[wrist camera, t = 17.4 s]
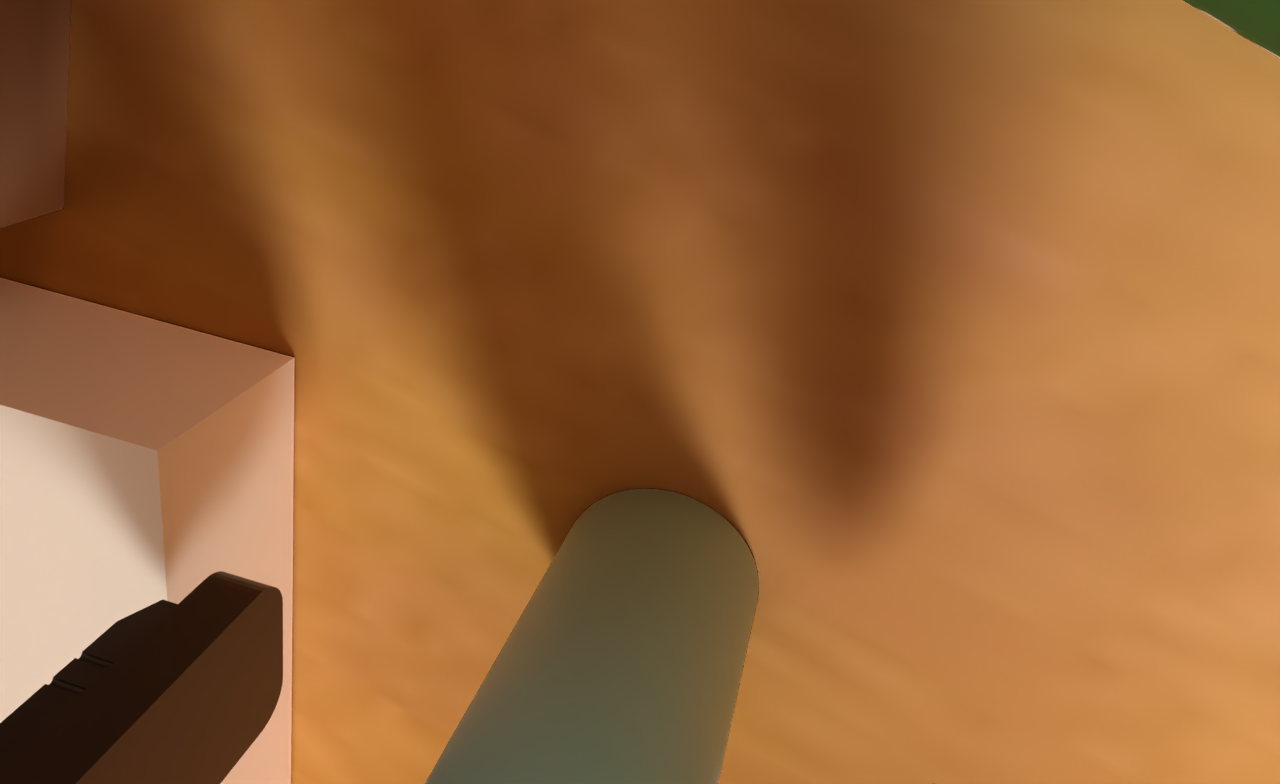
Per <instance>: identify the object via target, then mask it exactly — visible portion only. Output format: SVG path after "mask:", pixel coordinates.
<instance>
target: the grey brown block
mask: <svg viewBox="0 0 1280 784" xmlns="http://www.w3.org/2000/svg"><path fill="white" fill-rule="evenodd" d="M70 21H71V0H0V228H3V227H6V226H9V225H13V224H16V223H19V222H22V221H26V220H29V219H32V218H36V217H39V216H42V215H45V214H49V213H52V212H55V211H58V210H62V209H64V191H65V163H66V134H67V106H68V78H69V49H70Z"/></svg>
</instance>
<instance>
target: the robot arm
mask: <svg viewBox="0 0 1280 784" xmlns="http://www.w3.org/2000/svg"><path fill="white" fill-rule="evenodd" d="M282 683H283V598H282V594H281V592H280V590H279V589H278V588H276V587H273V586H269V585H266V584H263V583H260V582H256V581H253V580H250V579H246V578H243V577H240V576H236V575H233V574H230V573H226V572H223V571H218V572H215V573H213V574H211V575H210V576H208V577H207V578H206V579H205V580H204V581H203V582H202V583H200V584H199V585H198V586H197V587H196V588H195V589H194V590H193V591H192V592H191V593H190V594H189V595H187V596H186V597H185V598H184V599H183V600H182V601H181V602H180V603H179V604H176V603H172V602H169V601H166V600H160V601H158V602H156V603H154V604H152V605H150V606H148V607H146V608H144V609H142V610H140V611H137V612H135V613H133V614H131V615H129V616H127V617H125V618H123V619H121V620H119V621H117V622H116V623H114V624H113V625H112V626H111V627H110V628H109V629H108V630H106V631H105V632H104V633H103V634H102V635H101V636H100V637H98V638H97V639H96V640H95V641H94V642H93V643H92V644H90V645H89V646H88V647H87V648H86V649H85V650H84V651H82V655H81V657H80V658H79V659H76V658H74V659H73V660H72V661H71V662H70V663H69V664H67V665H66V666H65V667H64V668H63V669H62V670H61V671H59V672H58V673H57V674H56V675H55V676H54V677H53V680H52V682H51V683H50V684H49V685H47V684H45V685H43V686H42V687H41V688H40V689H39V690H38V691H37V692H35V693H34V694H33V695H32V696H31V697H30V698H29V699H27V700H26V701H25V702H24V703H23V704H22V705H20V706H19V707H18V708H17V709H16V710H15V711H14V712H12V713H11V714H10V715H9V716H8V717H7V718H6V719H4V720H3V721H2V722H1V723H0V784H221V782H222V781H223V780H224V779H225V777H226V776H227V775H228V774H229V772H230V771H231V770H232V769H233V767H234V766H235V765H236V764H237V762H238V761H239V760H240V758H241V757H242V756H243V755H244V753H245V752H246V751H247V750H248V748H249V747H250V746H251V745H252V743H253V742H254V741H255V740H256V738H257V737H258V736H259V735H260V733H261V732H262V731H263V729H264V728H265V726H266V725H267V723H268V722H269V720H270V718H271V716H272V714H273V712H274V710H275V708H276V705H277V702H278V700H279V696H280V693H281V689H282Z"/></svg>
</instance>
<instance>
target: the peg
mask: <svg viewBox="0 0 1280 784" xmlns="http://www.w3.org/2000/svg"><path fill="white" fill-rule="evenodd" d="M758 595H759V579H758V572H757V568H756V564H755V561H754V558H753V556H752V554H751V552H750V549H749V547H748V546H747V544H746V543H745V541H744V539H743V538H742V536H741V535H740V534H739V533H738V532H737V530H736V529H735V528H734V527H733V526H732V525H731V524H730V523H729V522H728V521H727V520H726V519H725V518H724V517H722V516H721V515H720V514H719V513H717V512H716V511H715V510H713V509H712V508H710V507H708V506H707V505H705V504H703V503H701V502H699V501H697V500H695V499H693V498H690V497H688V496H685V495H682V494H679V493H675V492H671V491H666V490H659V489H633V490H626V491H622V492H618V493H615V494H611V495H609V496H607V497H605V498H602V499H600V500H599V501H597V502H595V503H594V504H592V505H591V506H590V507H588V508H587V509H586V510H585V511H584V512H583V513H582V514H581V515H580V516H579V517H578V519H577V520H576V521H575V523H574V524H573V526H572V528H571V529H570V531H569V533H568V534H567V536H566V538H565V540H564V541H563V543H562V545H561V547H560V548H559V550H558V552H557V554H556V555H555V557H554V559H553V561H552V562H551V564H550V566H549V568H548V569H547V571H546V573H545V575H544V576H543V578H542V580H541V582H540V583H539V585H538V587H537V589H536V590H535V592H534V594H533V596H532V597H531V599H530V601H529V603H528V604H527V606H526V608H525V610H524V611H523V613H522V615H521V617H520V618H519V620H518V622H517V624H516V625H515V627H514V629H513V631H512V632H511V634H510V636H509V638H508V639H507V641H506V643H505V645H504V646H503V648H502V650H501V652H500V653H499V655H498V657H497V659H496V660H495V662H494V664H493V666H492V667H491V669H490V671H489V673H488V674H487V676H486V678H485V680H484V681H483V683H482V685H481V687H480V688H479V690H478V692H477V694H476V695H475V697H474V699H473V701H472V702H471V704H470V706H469V707H468V709H467V711H466V713H465V714H464V716H463V718H462V720H461V721H460V723H459V725H458V727H457V728H456V730H455V732H454V734H453V735H452V737H451V739H450V741H449V742H448V744H447V746H446V748H445V749H444V751H443V753H442V755H441V756H440V758H439V760H438V762H437V763H436V765H435V767H434V769H433V770H432V772H431V774H430V776H429V777H428V779H427V781H426V783H425V784H718V783H719V778H720V773H721V769H722V764H723V759H724V755H725V750H726V745H727V741H728V736H729V731H730V727H731V722H732V717H733V713H734V708H735V703H736V699H737V694H738V689H739V685H740V680H741V675H742V671H743V666H744V661H745V657H746V652H747V647H748V643H749V638H750V633H751V629H752V624H753V619H754V615H755V610H756V605H757V600H758Z"/></svg>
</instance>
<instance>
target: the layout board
mask: <svg viewBox="0 0 1280 784" xmlns="http://www.w3.org/2000/svg"><path fill="white" fill-rule="evenodd" d="M294 367H295V358H294V357H291V356H287V355H283V354H279V353H276V352H272V351H268V350H265V349H261V348H257V347H254V346H250V345H246V344H243V343H239V342H235V341H232V340H228V339H224V338H221V337H217V336H213V335H210V334H206V333H202V332H199V331H195V330H191V329H188V328H184V327H180V326H177V325H173V324H169V323H166V322H162V321H158V320H155V319H151V318H147V317H144V316H140V315H136V314H133V313H129V312H125V311H122V310H118V309H114V308H111V307H107V306H103V305H100V304H96V303H92V302H89V301H85V300H81V299H78V298H74V297H70V296H67V295H63V294H59V293H56V292H52V291H48V290H45V289H41V288H37V287H34V286H30V285H26V284H23V283H19V282H15V281H11V280H8V279H4V278H0V723H1V722H2V721H3V720H4V719H6V718H7V717H8V716H9V715H10V714H11V713H12V712H14V711H15V710H16V709H17V708H18V707H19V706H20V705H22V704H23V703H24V702H25V701H26V700H27V699H29V698H30V697H31V696H32V695H33V694H34V693H35V692H37V691H38V690H39V689H40V688H41V687H42V686H43V685H45V684H47V685H49V684H50V683H51V682H52V680H53V677H54V676H55V675H56V674H57V673H58V672H59V671H61V670H62V669H63V668H64V667H65V666H66V665H67V664H69V663H70V662H71V661H72V660H73V659H74V658H76V659H79V658H80V657H81V655H82V651H84V650H85V649H86V648H87V647H88V646H89V645H90V644H92V643H93V642H94V641H95V640H96V639H97V638H98V637H100V636H101V635H102V634H103V633H104V632H105V631H106V630H108V629H109V628H110V627H111V626H112V625H113V624H114V623H116V622H117V621H119V620H121V619H123V618H125V617H127V616H129V615H131V614H133V613H135V612H137V611H140V610H142V609H144V608H146V607H148V606H150V605H152V604H154V603H156V602H158V601H160V600H166V601H169V602H172V603H176V604H179V603H180V602H181V601H182V600H183V599H184V598H185V597H186V596H187V595H189V594H190V593H191V592H192V591H193V590H194V589H195V588H196V587H197V586H198V585H199V584H200V583H202V582H203V581H204V580H205V579H206V578H207V577H208V576H210V575H211V574H213V573H215V572H218V571H223V572H226V573H230V574H233V575H236V576H240V577H243V578H246V579H250V580H253V581H256V582H260V583H263V584H266V585H269V586H273V587H276V588H278V589H279V590H280V592H281V594H282V598H283V683H282V689H281V693H280V696H279V700H278V702H277V705H276V708H275V710H274V712H273V714H272V716H271V718H270V720H269V722H268V723H267V725H266V726H265V728H264V729H263V731H262V732H261V733H260V735H259V736H258V737H257V738H256V740H255V741H254V742H253V743H252V745H251V746H250V747H249V748H248V750H247V751H246V752H245V753H244V755H243V756H242V757H241V758H240V760H239V761H238V762H237V764H236V765H235V766H234V767H233V769H232V770H231V771H230V772H229V774H228V775H227V776H226V777H225V779H224V780H223V781H222V782H221V784H291V733H292V611H293V489H294Z"/></svg>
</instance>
